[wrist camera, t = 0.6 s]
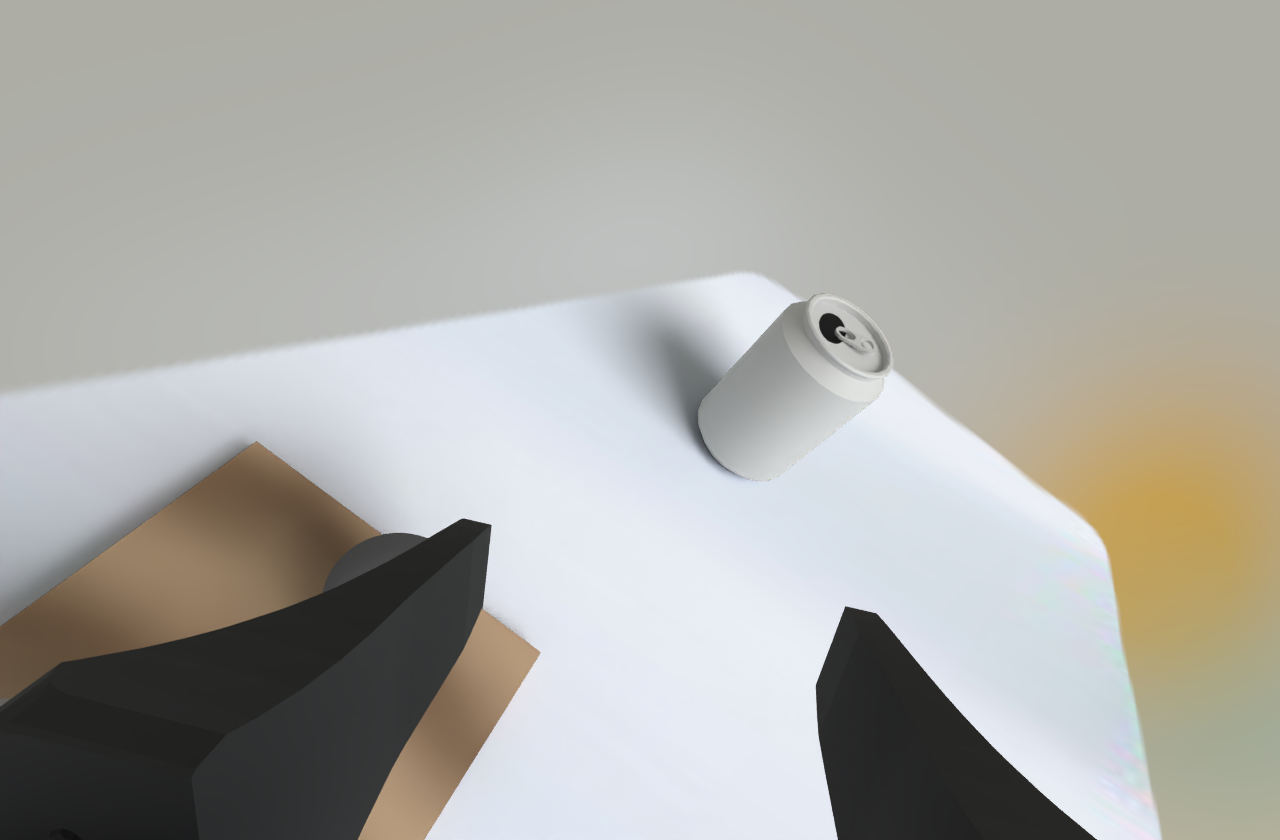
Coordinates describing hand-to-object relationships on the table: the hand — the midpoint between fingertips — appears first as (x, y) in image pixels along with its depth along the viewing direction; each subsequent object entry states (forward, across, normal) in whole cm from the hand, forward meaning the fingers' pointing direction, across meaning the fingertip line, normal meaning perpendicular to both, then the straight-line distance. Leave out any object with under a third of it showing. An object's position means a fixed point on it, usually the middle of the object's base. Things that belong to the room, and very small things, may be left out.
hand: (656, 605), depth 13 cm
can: (+31, -4, +9) cm, 33 cm away
